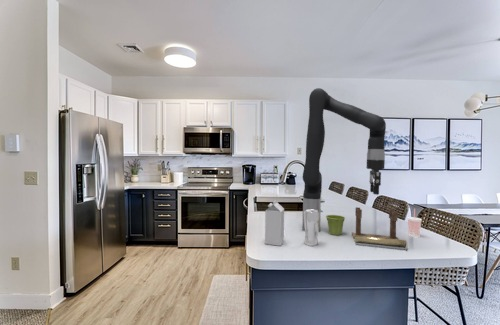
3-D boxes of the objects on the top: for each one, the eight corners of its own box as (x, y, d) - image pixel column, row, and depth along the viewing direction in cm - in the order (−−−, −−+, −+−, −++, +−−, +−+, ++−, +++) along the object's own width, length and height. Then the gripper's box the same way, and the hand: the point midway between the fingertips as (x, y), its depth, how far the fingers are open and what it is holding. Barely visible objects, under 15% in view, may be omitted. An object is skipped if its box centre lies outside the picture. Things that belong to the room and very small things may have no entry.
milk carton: (283, 241, 110) (284, 200, 110) (280, 246, 103) (281, 202, 103) (268, 239, 112) (269, 199, 112) (264, 244, 105) (265, 201, 105)
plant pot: (321, 231, 125) (322, 215, 125) (336, 230, 128) (336, 214, 128) (333, 237, 116) (334, 219, 116) (349, 235, 120) (349, 218, 120)
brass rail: (355, 243, 107) (355, 236, 107) (354, 240, 110) (354, 234, 110) (406, 248, 101) (406, 241, 101) (404, 245, 104) (404, 238, 104)
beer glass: (310, 247, 102) (311, 212, 102) (300, 242, 108) (300, 209, 108) (322, 245, 105) (323, 211, 105) (311, 240, 111) (312, 208, 111)
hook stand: (353, 239, 114) (353, 209, 114) (351, 234, 121) (352, 206, 120) (401, 243, 108) (401, 212, 108) (396, 239, 115) (397, 209, 115)
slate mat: (355, 245, 106) (355, 243, 106) (354, 240, 111) (354, 239, 111) (407, 250, 100) (407, 249, 100) (402, 245, 106) (402, 244, 106)
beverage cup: (415, 238, 116) (415, 209, 116) (403, 234, 122) (404, 207, 122) (424, 237, 118) (425, 209, 118) (413, 233, 124) (413, 207, 123)
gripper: (364, 159, 120) (363, 190, 121) (369, 158, 107) (367, 194, 107) (381, 159, 118) (380, 192, 118) (388, 159, 104) (386, 195, 105)
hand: (374, 193), depth 113 cm, fingers open, 8 cm apart
